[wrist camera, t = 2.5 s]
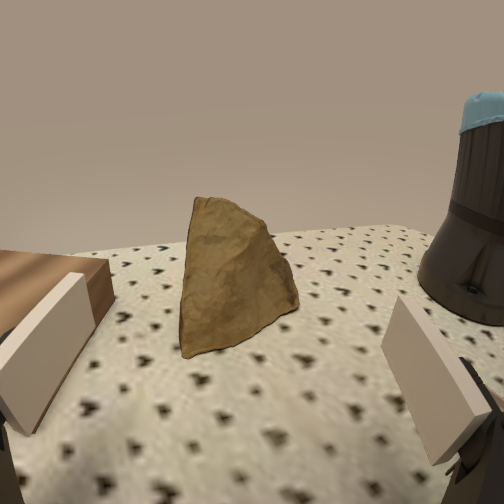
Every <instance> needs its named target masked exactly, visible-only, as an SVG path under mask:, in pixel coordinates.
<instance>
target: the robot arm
mask: <svg viewBox="0 0 504 504" xmlns="http://www.w3.org/2000/svg"><path fill="white" fill-rule="evenodd" d="M459 135H460V144H459V153H458V160H457V168H456V173H455V179H454V185H453V190H452V195H451V200H450V205H449V210H448V214H447V217H446V219H445V221H444V222H443V224H442V226H441V228H440V229H439V231H438V233H437V234H436V236H435V238H434V240H433V242H432V243H431V245H430V247H429V249H428V250H427V251H426V252H425V253H424V255H423V257H422V260H421V264H420V267H419V271H418V279H419V282H420V283H421V285H422V287H423V288H424V289H425V290H426V291H427V292H428V293H429V294H430V295H431V296H432V297H433V298H434V299H435V300H437V301H438V302H439V303H441V304H442V305H444V306H445V307H447V308H448V309H450V310H452V311H454V312H456V313H458V314H460V315H462V316H464V317H466V318H469V319H472V320H474V321H477V322H481V323H485V324H490V325H504V91H487V92H481V93H477V94H474V95H472V96H471V97H469V98H468V99H467V101H466V102H465V105H464V111H463V118H462V125H461V129H460V130H459ZM95 327H96V326H95V322H94V318H93V314H92V309H91V305H90V300H89V295H88V290H87V285H86V280H85V275H84V274H83V273H74V272H70V273H69V274H68V275H66V276H65V277H64V278H63V279H62V280H61V281H60V282H59V283H58V284H57V285H56V286H55V287H54V288H53V289H52V290H51V291H50V292H49V293H48V294H47V295H46V296H45V297H44V298H43V299H42V300H41V301H40V302H39V303H38V304H37V306H36V307H35V308H34V309H33V310H32V311H31V312H30V313H29V314H28V315H27V316H26V317H25V318H24V319H23V320H22V321H21V323H20V324H19V325H18V326H17V327H13V328H12V329H10V330H8V331H7V332H5V333H4V334H3V335H2V336H1V337H0V504H25V503H24V500H23V497H22V494H21V491H20V487H19V484H18V480H17V477H16V473H15V469H14V465H13V461H12V456H11V452H10V447H9V442H8V437H7V432H6V429H5V427H4V426H3V424H4V423H5V421H6V420H7V421H8V423H9V424H10V425H11V427H12V428H13V430H15V431H17V432H19V433H21V434H23V435H26V436H28V437H30V435H31V433H32V431H33V429H34V427H35V426H36V424H37V422H38V420H39V418H40V416H41V415H42V413H43V411H44V409H45V408H46V406H47V404H48V402H49V401H50V399H51V397H52V395H53V394H54V392H55V390H56V389H57V387H58V385H59V383H60V382H61V380H62V378H63V377H64V375H65V374H66V372H67V370H68V369H69V367H70V365H71V364H72V362H73V361H74V359H75V357H76V356H77V354H78V353H79V351H80V350H81V348H82V347H83V345H84V343H85V342H86V340H87V339H88V337H89V336H90V334H91V333H92V331H93V330H94V328H95ZM381 348H382V350H383V353H384V355H385V357H386V359H387V361H388V363H389V365H390V368H391V370H392V372H393V374H394V376H395V379H396V381H397V383H398V385H399V388H400V390H401V392H402V394H403V397H404V399H405V401H406V404H407V406H408V408H409V411H410V413H411V415H412V418H413V420H414V423H415V425H416V428H417V430H418V433H419V435H420V438H421V440H422V443H423V445H424V448H425V450H426V453H427V456H428V458H429V461H430V464H431V466H435V465H438V464H441V463H444V462H448V461H449V460H450V459H451V458H452V457H453V456H454V455H455V454H456V453H457V452H458V453H459V455H460V457H461V458H460V459H459V460H458V461H457V462H456V463H455V464H454V465H453V466H452V467H451V468H450V469H449V470H448V471H447V472H446V474H445V475H446V476H447V475H449V474H450V473H451V472H452V471H453V470H454V471H453V474H452V476H451V479H450V482H449V485H448V487H447V490H446V492H445V495H444V497H443V500H442V502H441V504H504V412H502V411H501V410H500V408H499V406H498V405H497V403H496V402H495V400H494V398H493V397H492V395H491V394H490V392H489V390H488V389H487V387H486V386H485V384H483V381H482V380H481V378H480V377H478V374H477V372H476V371H475V369H474V368H473V366H472V365H471V364H470V363H469V362H468V361H466V360H465V359H464V358H463V357H458V356H457V355H456V353H455V352H454V350H453V349H452V347H451V346H450V345H449V343H448V342H447V340H446V339H445V337H444V336H443V335H442V333H441V332H440V330H439V329H438V328H437V326H436V325H435V324H434V322H433V321H432V320H431V318H430V317H429V316H428V314H427V313H426V312H425V310H424V309H423V308H422V306H421V305H420V304H419V302H418V301H417V300H416V299H415V297H414V296H412V295H398V298H397V301H396V304H395V307H394V310H393V313H392V316H391V319H390V322H389V325H388V328H387V330H386V333H385V336H384V338H383V341H382V344H381Z"/></svg>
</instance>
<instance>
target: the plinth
mask: <svg viewBox="0 0 504 504" xmlns="http://www.w3.org/2000/svg"><path fill="white" fill-rule="evenodd" d="M70 272H74V273H83V274H84V275H85V280H86V285H87V290H88V295H89V300H90V305H91V309H92V314H93V318H94V322H95V326H96V327H95V328H94V330H93V331H92V333H91V334H90V336H89V337H88V339H87V340H86V342H85V343H84V345H83V347H82V348H81V350H80V351H79V353H78V354H77V356H76V357H75V359H74V361H73V362H72V364H71V365H70V367H69V369H68V370H67V372H66V374H65V375H64V377H63V378H62V380H61V382H60V383H59V385H58V387H57V389H56V390H55V392H54V394H53V395H52V397H51V399H50V401H49V402H48V404H47V406H46V408H45V409H44V411H43V413H42V415H41V416H40V418H39V420H38V422H37V424H36V426H35V427H34V429H33V431H32V433H34V434H35V432H36V430H37V428H38V426H39V424H40V422H41V420H42V419H43V417H44V415H45V413H46V411H47V409H48V407H49V406H50V404H51V402H52V400H53V398H54V397H55V395H56V393H57V391H58V390H59V388H60V386H61V384H62V383H63V381H64V379H65V378H66V376H67V374H68V373H69V371H70V369H71V368H72V366H73V364H74V363H75V361H76V359H77V358H78V356H79V354H80V353H81V351H82V350H83V348H84V346H85V345H86V343H87V342H88V340H89V339H90V337H91V335H92V334H93V332H94V331H95V329H96V328H97V326H98V325H99V323H100V322H101V320H102V319H103V317H104V316H105V314H106V313H107V311H108V310H109V308H110V307H111V305H112V304H113V302H114V301H115V297H114V291H113V285H112V279H111V273H110V267H109V260H108V259H100V258H87V257H75V256H63V255H52V254H40V253H29V252H17V251H7V250H0V337H1V336H2V335H3V334H4V333H5V332H7V331H8V330H10V329H12V328H13V327H17V326H18V325H19V324H20V323H21V321H22V320H23V319H24V318H25V317H26V316H27V315H28V314H29V313H30V312H31V311H32V310H33V309H34V308H35V307H36V306H37V304H38V303H39V302H40V301H41V300H42V299H43V298H44V297H45V296H46V295H47V294H48V293H49V292H50V291H51V290H52V289H53V288H54V287H55V286H56V285H57V284H58V283H59V282H60V281H61V280H62V279H63V278H64V277H65V276H66V275H68V274H69V273H70ZM6 421H7V420H6Z"/></svg>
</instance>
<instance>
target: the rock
mask: <svg viewBox="0 0 504 504" xmlns="http://www.w3.org/2000/svg"><path fill="white" fill-rule="evenodd" d="M299 305H300V303H299V298H298V290H297V288H296V285H295V283H294V280H293V274H292V270H291V268H290V265H289V263H288V261H287V260H286V258H284V257H283V256H282V255H281V254H280V252H279V250H278V249H277V247H276V244H275V242H274V241H273V239H272V238H271V236H270V235H269V233H268V231H267V226H266V224H265V222H264V221H263V220H261V219H259V218H257V217H255V216H254V215H252V214H250V213H249V212H247V211H246V210H244V209H241V208H240V207H239V206H238V205H237V204H235V203H233V202H231V201H229V200H226V199H223V198H213V197H210V198H202V197H196V198H195V200H194V206H193V212H192V217H191V221H190V225H189V230H188V237H187V245H186V260H185V273H184V279H183V291H182V297H181V302H180V320H179V342H180V348H181V350H182V357H183V358H185V359H190V358H192V357H193V356H194V355H196V354H198V353H202V352H207V351H211V350H213V349H222V348H226V347H229V346H235V345H236V344H238V343H239V342H241V341H243V340H245V339H247V338H250V337H252V336H253V335H254V334H255V333H257V332H259V331H260V330H261V329H262V328H263V327H265V326H266V325H268V324H271V323H272V322H273V321H275V320H276V318H277V317H278V316H280V315H282V314H284V313H287V312H289V311H291V310H294V309H296V308H297V307H298V306H299Z"/></svg>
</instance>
